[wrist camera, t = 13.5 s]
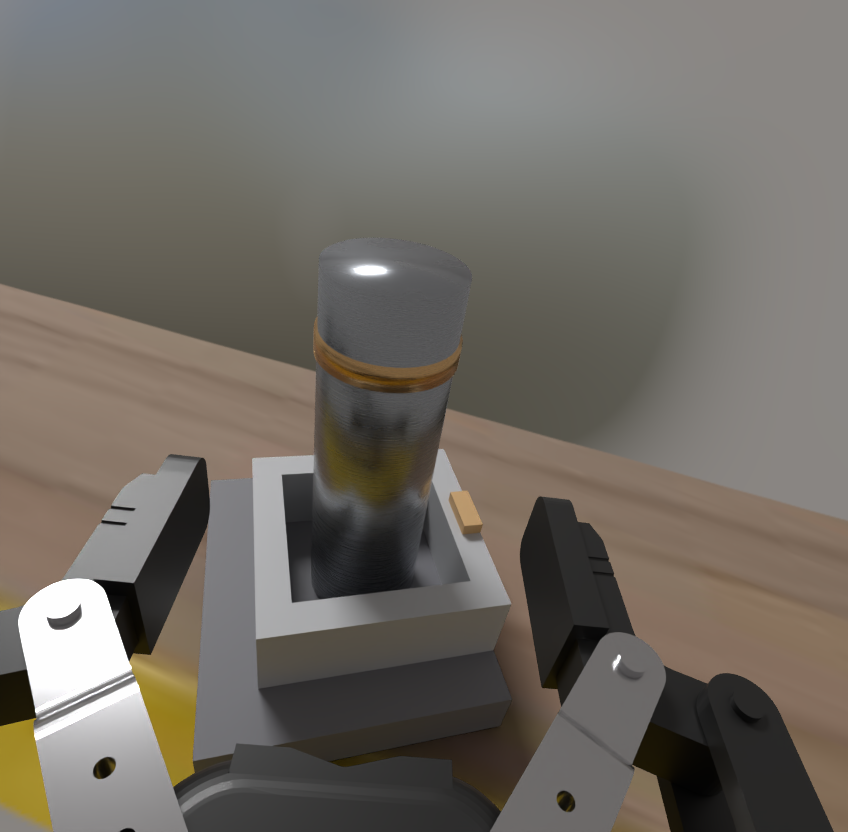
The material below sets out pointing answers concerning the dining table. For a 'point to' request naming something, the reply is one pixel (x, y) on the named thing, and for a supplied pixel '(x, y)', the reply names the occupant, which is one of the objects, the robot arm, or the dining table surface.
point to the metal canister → (379, 406)
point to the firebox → (341, 629)
